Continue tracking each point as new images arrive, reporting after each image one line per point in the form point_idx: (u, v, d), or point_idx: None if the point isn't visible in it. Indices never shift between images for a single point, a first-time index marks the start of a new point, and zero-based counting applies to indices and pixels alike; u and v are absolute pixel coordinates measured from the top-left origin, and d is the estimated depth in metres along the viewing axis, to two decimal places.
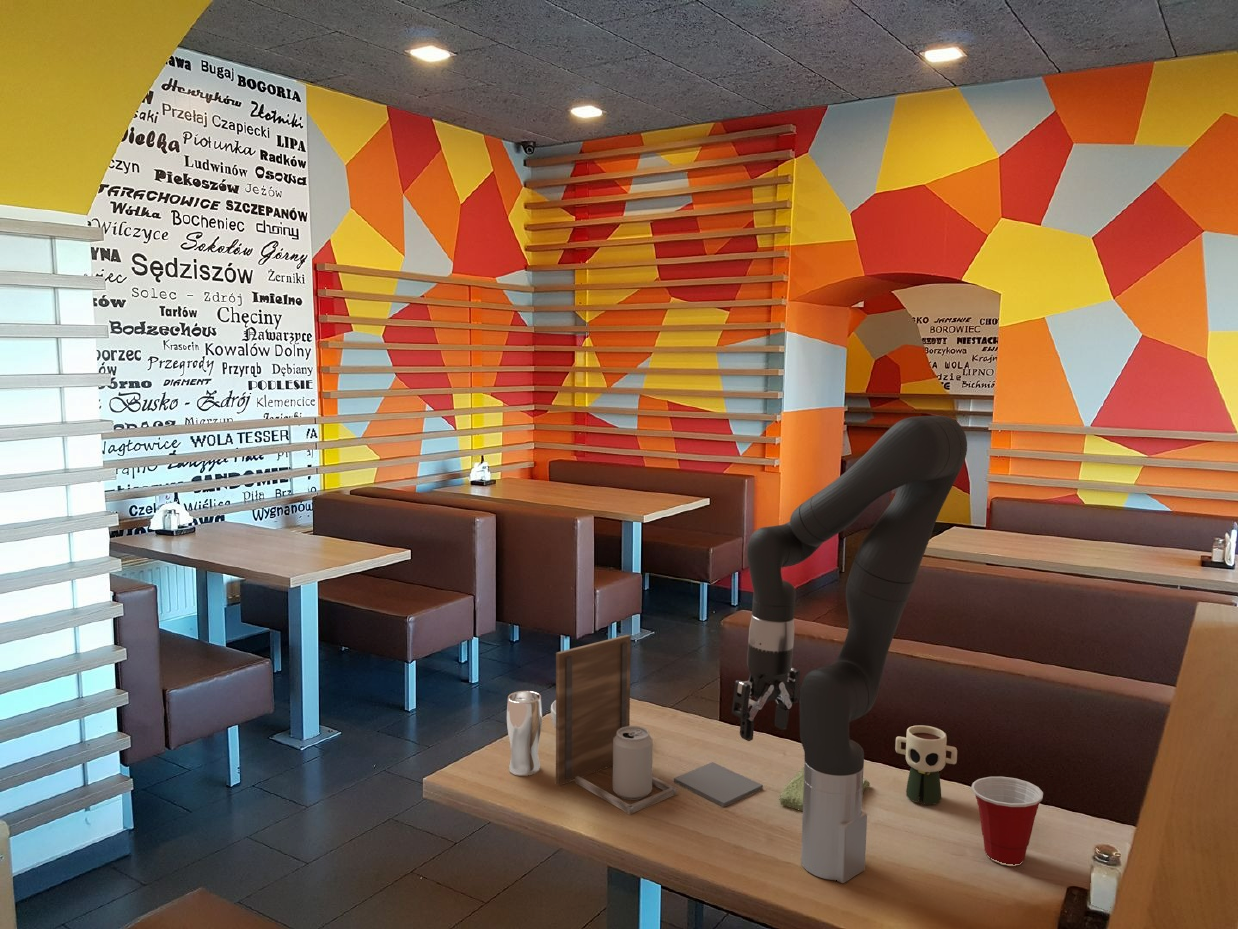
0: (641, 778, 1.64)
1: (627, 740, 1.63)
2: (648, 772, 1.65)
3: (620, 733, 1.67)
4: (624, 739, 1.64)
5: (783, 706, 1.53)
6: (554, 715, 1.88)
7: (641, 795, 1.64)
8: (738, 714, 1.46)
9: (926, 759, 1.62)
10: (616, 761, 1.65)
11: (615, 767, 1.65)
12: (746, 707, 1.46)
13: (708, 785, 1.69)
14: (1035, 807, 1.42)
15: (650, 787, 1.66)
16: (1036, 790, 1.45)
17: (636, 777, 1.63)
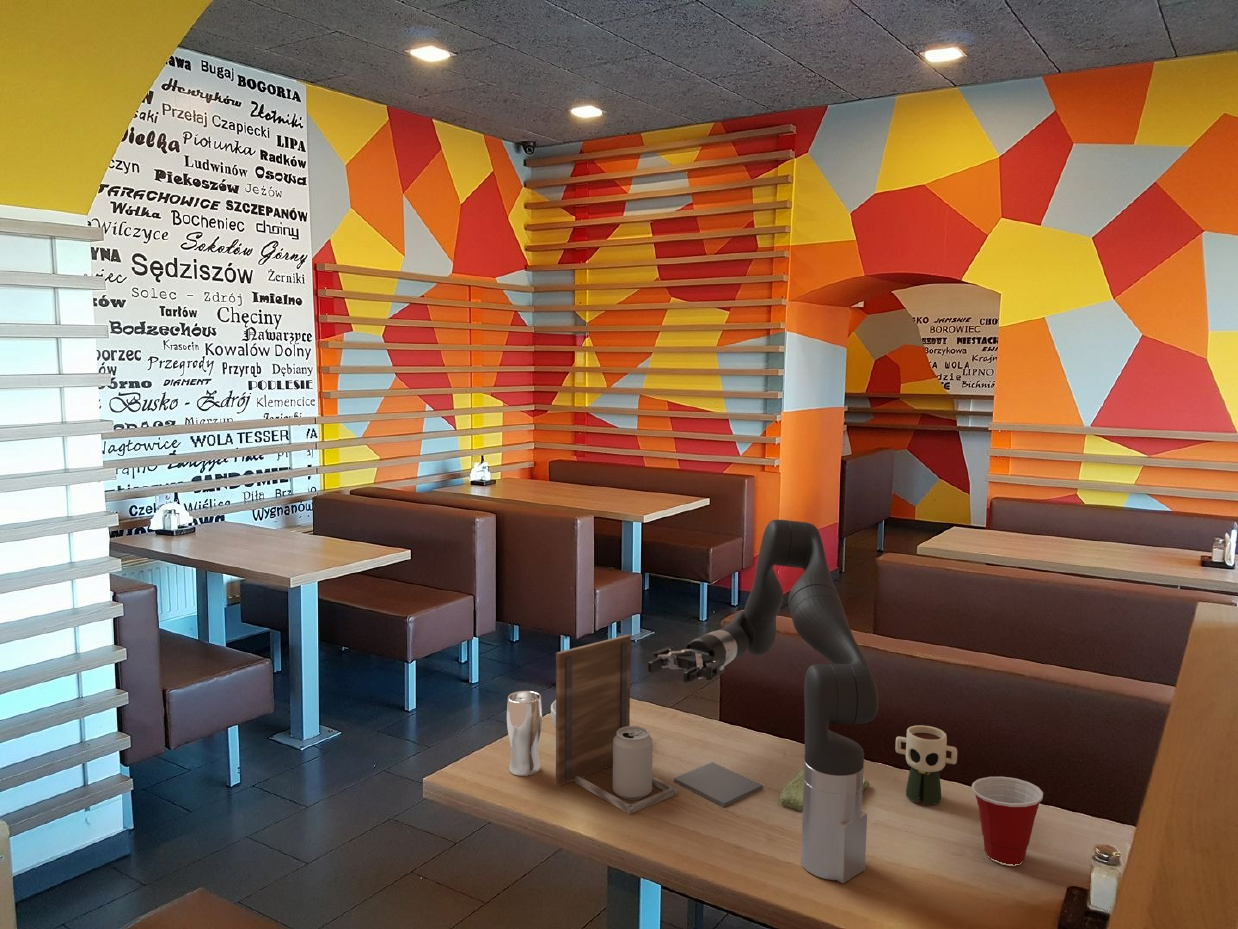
0: (641, 778, 1.64)
1: (627, 740, 1.63)
2: (648, 772, 1.65)
3: (620, 733, 1.67)
4: (624, 739, 1.64)
5: None
6: (554, 715, 1.88)
7: (641, 795, 1.64)
8: None
9: (926, 759, 1.62)
10: (616, 761, 1.65)
11: (615, 767, 1.65)
12: (660, 651, 1.83)
13: (708, 785, 1.69)
14: (1035, 807, 1.42)
15: (650, 787, 1.66)
16: (1036, 790, 1.45)
17: (636, 777, 1.63)
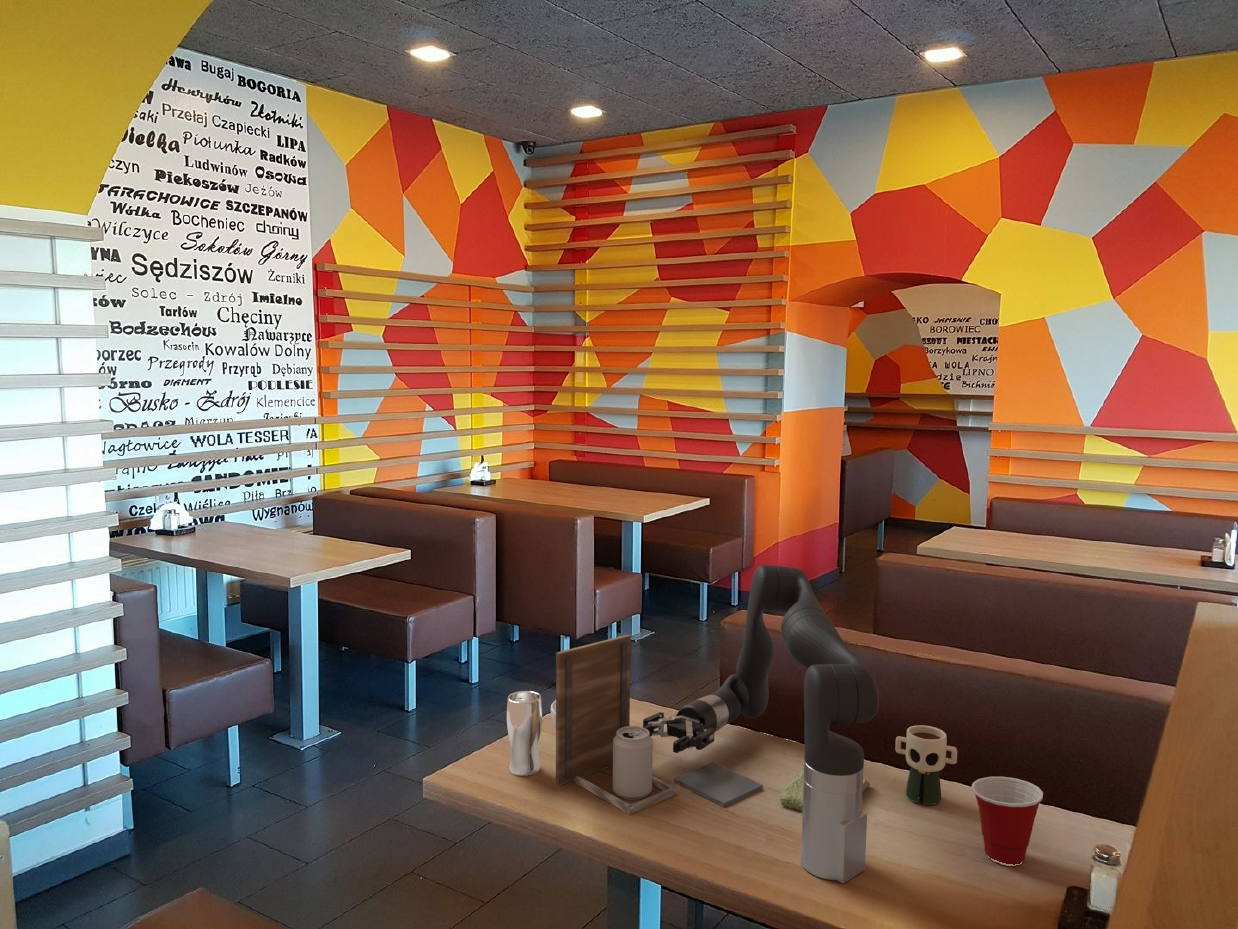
0: (641, 778, 1.64)
1: (627, 740, 1.63)
2: (648, 772, 1.65)
3: (620, 733, 1.67)
4: (624, 739, 1.64)
5: None
6: (554, 715, 1.88)
7: (641, 795, 1.64)
8: None
9: (926, 759, 1.62)
10: (616, 761, 1.65)
11: (615, 767, 1.65)
12: (650, 718, 1.81)
13: (708, 785, 1.69)
14: (1035, 807, 1.42)
15: (650, 787, 1.66)
16: (1036, 790, 1.45)
17: (636, 777, 1.63)
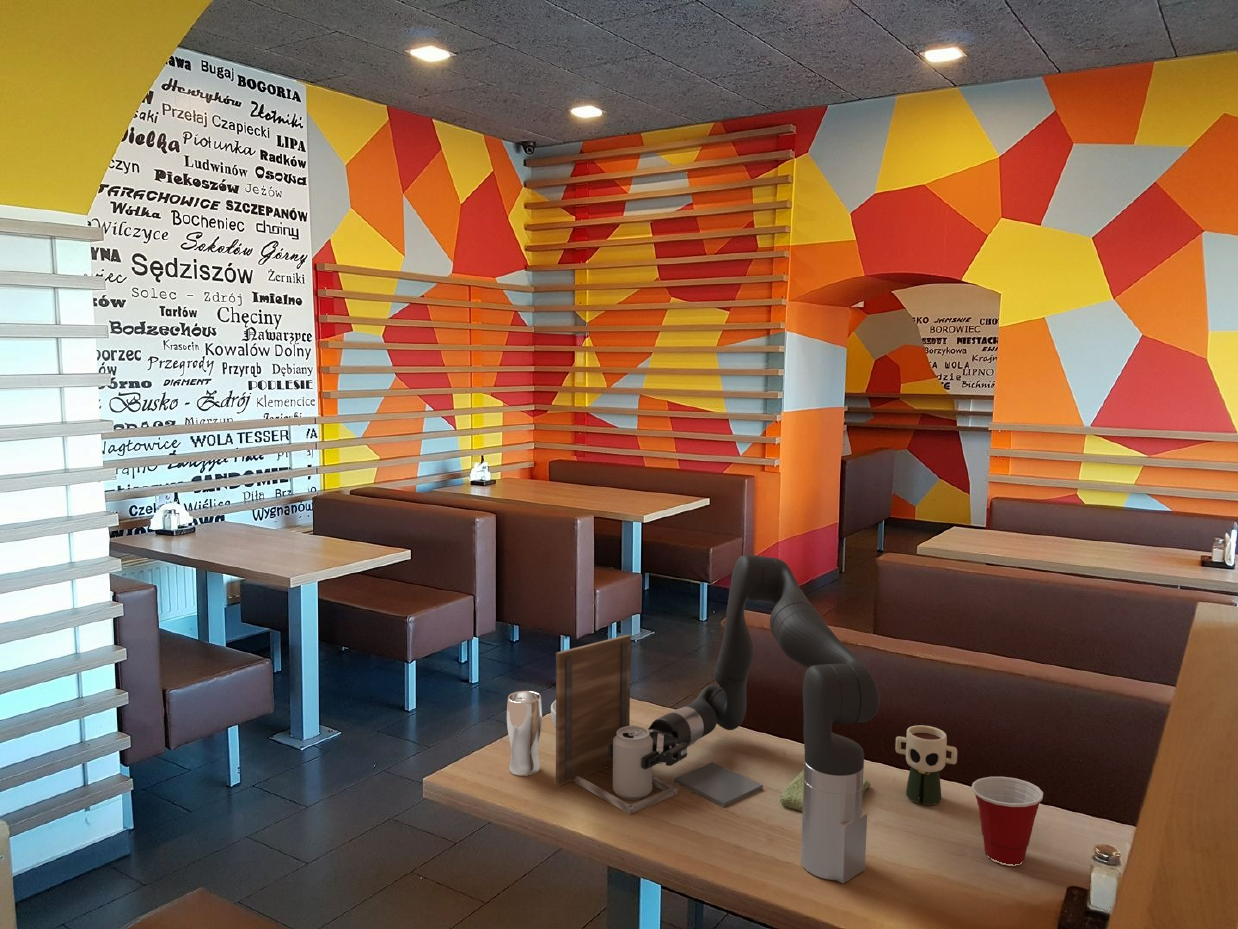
0: (641, 778, 1.64)
1: (627, 740, 1.63)
2: (648, 771, 1.65)
3: (620, 733, 1.67)
4: (624, 739, 1.64)
5: None
6: (554, 715, 1.88)
7: (641, 795, 1.64)
8: None
9: (926, 759, 1.62)
10: (616, 761, 1.65)
11: (615, 767, 1.65)
12: None
13: (708, 785, 1.69)
14: (1035, 807, 1.42)
15: (650, 787, 1.66)
16: (1036, 790, 1.45)
17: (636, 777, 1.63)
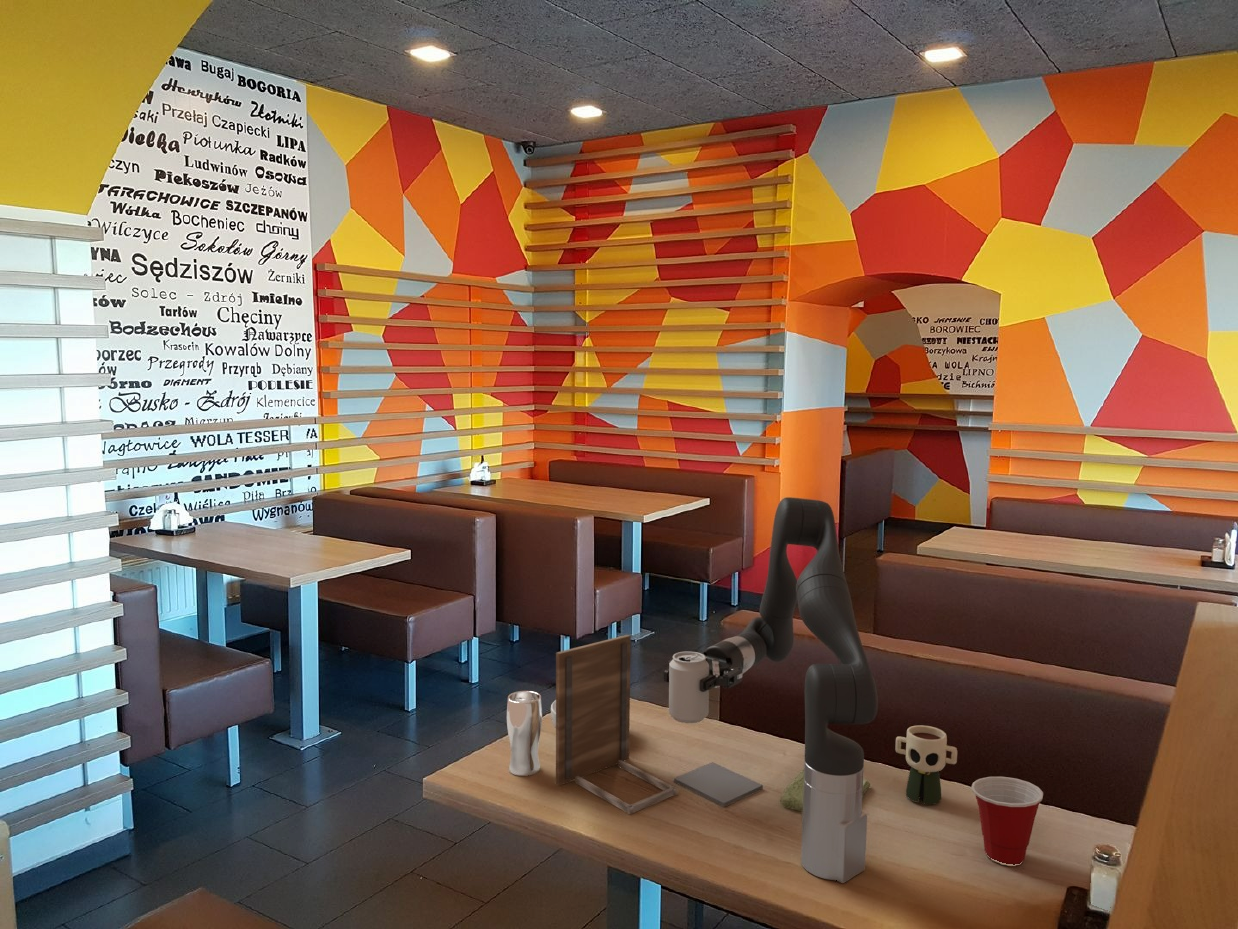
0: (699, 701, 1.64)
1: (684, 663, 1.64)
2: (706, 695, 1.65)
3: (676, 658, 1.67)
4: (681, 662, 1.64)
5: None
6: (554, 715, 1.88)
7: (699, 718, 1.64)
8: (668, 665, 1.73)
9: (926, 759, 1.62)
10: (673, 685, 1.65)
11: (672, 691, 1.65)
12: None
13: (708, 785, 1.69)
14: (1035, 807, 1.42)
15: (707, 711, 1.66)
16: (1036, 790, 1.45)
17: (694, 700, 1.64)
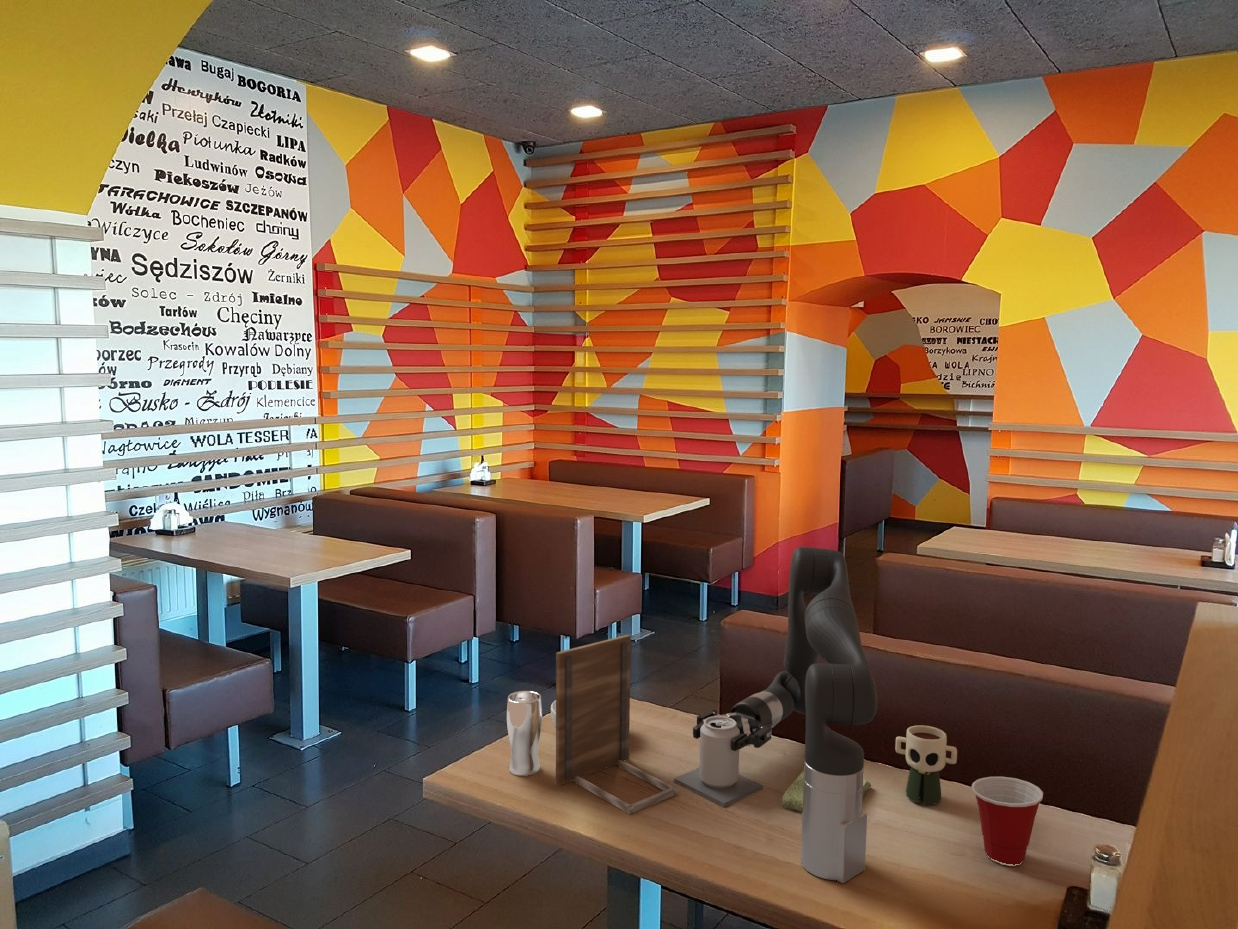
0: (729, 767, 1.67)
1: (715, 730, 1.67)
2: (736, 761, 1.68)
3: (707, 723, 1.70)
4: (712, 729, 1.67)
5: None
6: (554, 715, 1.88)
7: (729, 784, 1.67)
8: None
9: (926, 759, 1.62)
10: (704, 750, 1.68)
11: (703, 756, 1.68)
12: (704, 715, 1.77)
13: None
14: (1035, 807, 1.42)
15: (737, 776, 1.69)
16: (1036, 790, 1.45)
17: (725, 766, 1.66)
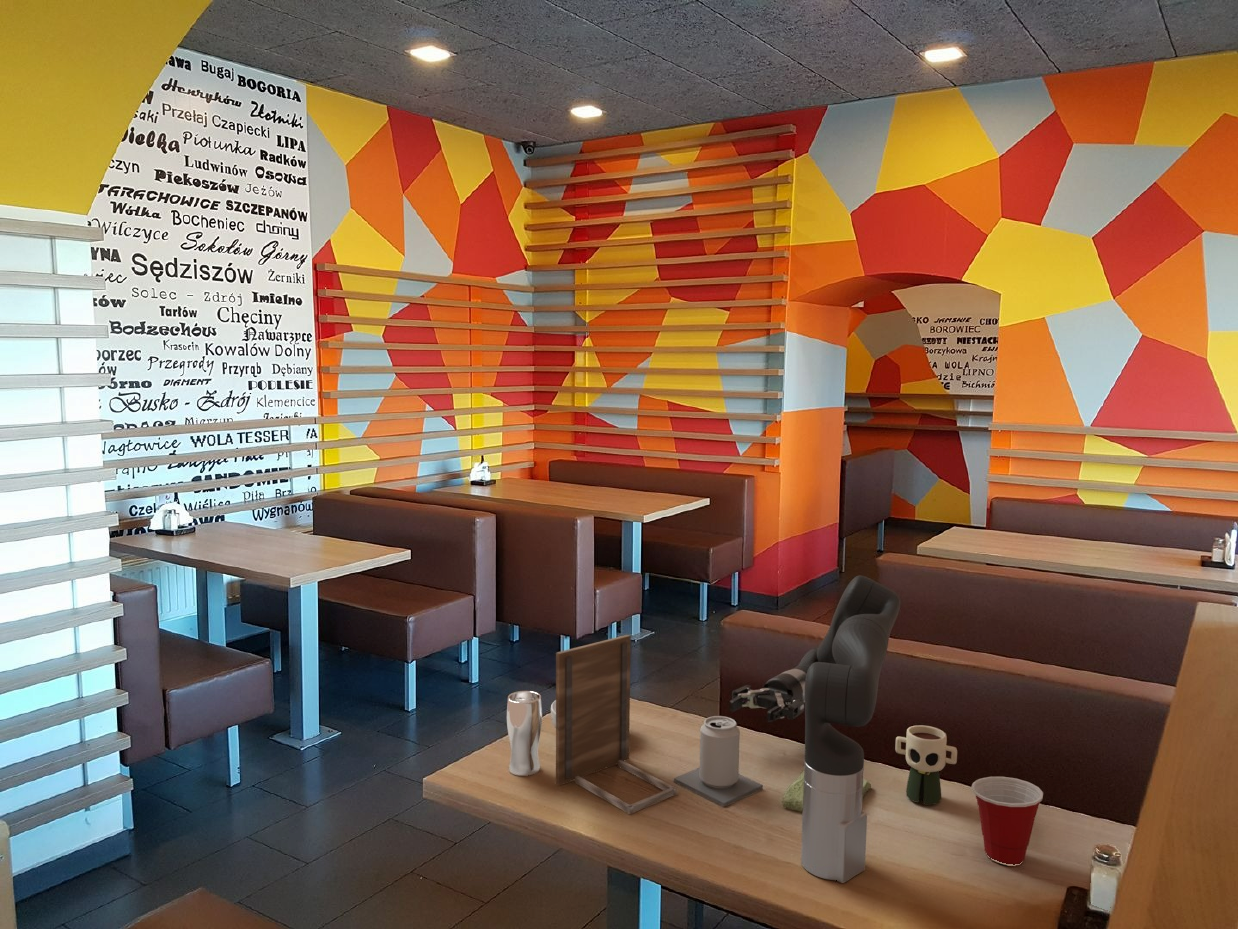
0: (729, 767, 1.67)
1: (715, 729, 1.67)
2: (736, 761, 1.68)
3: (707, 723, 1.70)
4: (712, 728, 1.67)
5: None
6: (554, 715, 1.88)
7: (729, 784, 1.67)
8: None
9: (926, 759, 1.62)
10: (704, 750, 1.68)
11: (703, 756, 1.68)
12: (739, 690, 1.86)
13: None
14: (1035, 807, 1.42)
15: (737, 776, 1.69)
16: (1036, 790, 1.45)
17: (725, 766, 1.66)
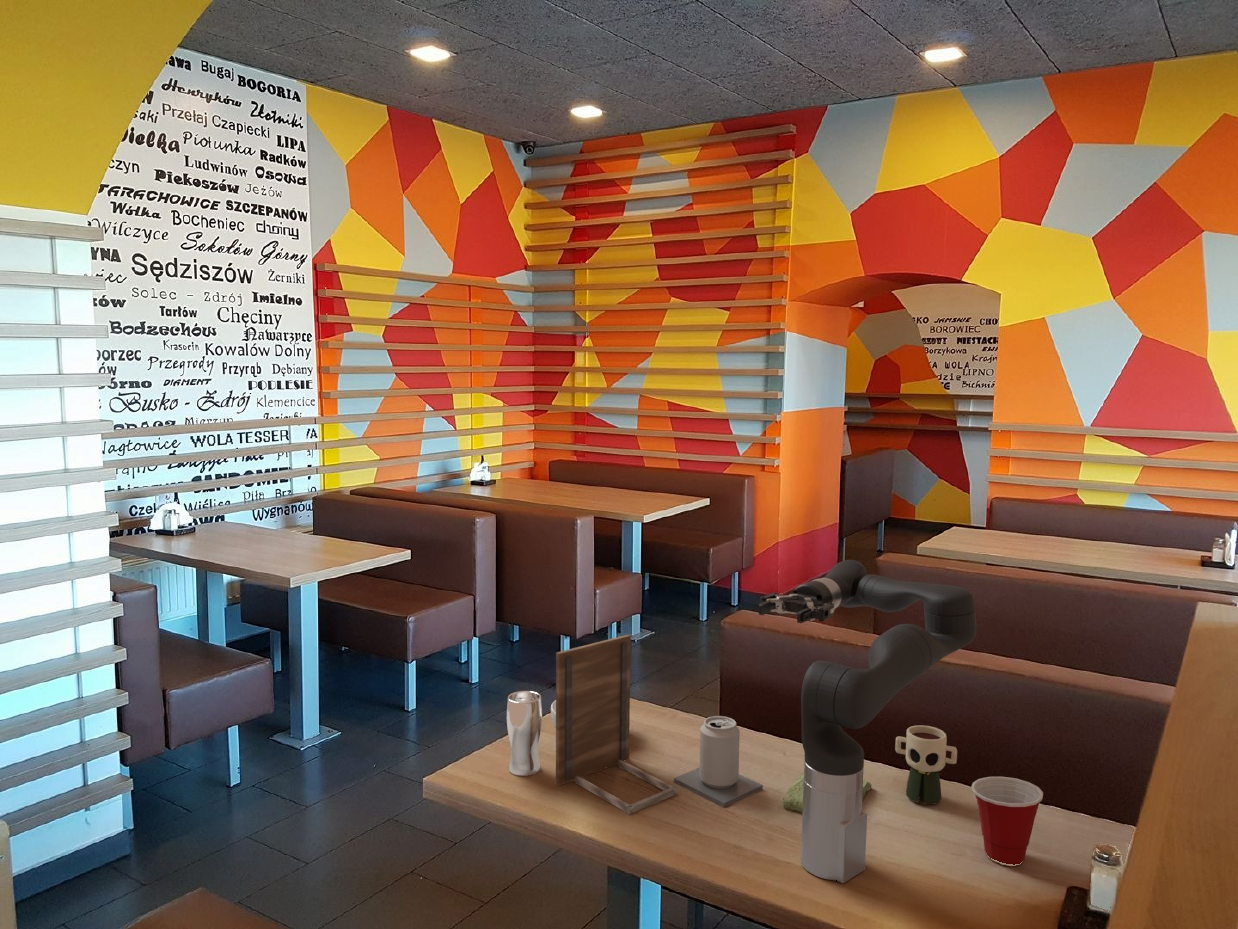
0: (729, 767, 1.67)
1: (715, 729, 1.67)
2: (736, 761, 1.68)
3: (707, 723, 1.70)
4: (712, 728, 1.67)
5: None
6: (554, 715, 1.88)
7: (729, 784, 1.67)
8: None
9: (926, 759, 1.62)
10: (704, 750, 1.68)
11: (703, 756, 1.68)
12: (767, 596, 1.83)
13: None
14: (1035, 807, 1.42)
15: (737, 776, 1.69)
16: (1036, 790, 1.45)
17: (724, 766, 1.66)
